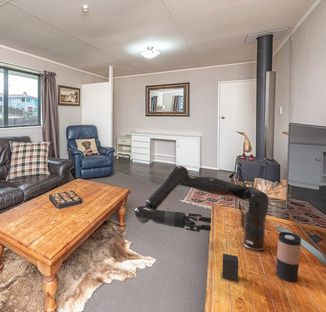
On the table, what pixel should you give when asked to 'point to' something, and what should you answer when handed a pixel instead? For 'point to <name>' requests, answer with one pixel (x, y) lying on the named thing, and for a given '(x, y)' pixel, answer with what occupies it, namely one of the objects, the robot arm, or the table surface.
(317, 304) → the table surface
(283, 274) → the travel mug
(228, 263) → the slate block
